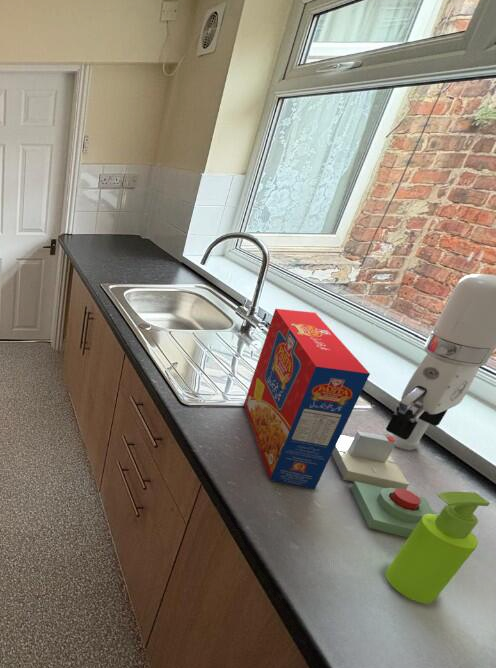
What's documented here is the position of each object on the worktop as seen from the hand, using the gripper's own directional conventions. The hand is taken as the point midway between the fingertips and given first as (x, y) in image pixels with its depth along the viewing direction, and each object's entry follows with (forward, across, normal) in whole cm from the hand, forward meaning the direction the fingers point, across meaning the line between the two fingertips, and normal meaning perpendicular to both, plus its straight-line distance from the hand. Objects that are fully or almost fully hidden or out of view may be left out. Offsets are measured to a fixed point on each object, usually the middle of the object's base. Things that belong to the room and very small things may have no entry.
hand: (411, 427), depth 78 cm
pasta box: (+16, -5, +18) cm, 25 cm away
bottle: (+16, +21, +6) cm, 27 cm away
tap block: (+16, +5, +5) cm, 17 cm away
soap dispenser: (+16, -19, -14) cm, 28 cm away
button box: (+16, -5, -5) cm, 17 cm away
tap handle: (+13, +5, +5) cm, 15 cm away
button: (+12, -5, -5) cm, 14 cm away
